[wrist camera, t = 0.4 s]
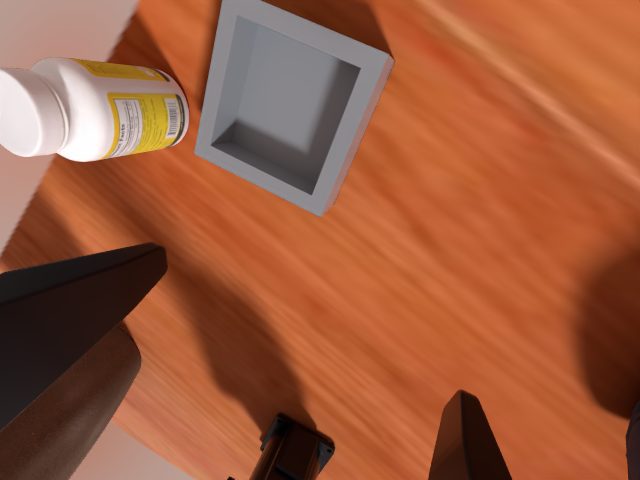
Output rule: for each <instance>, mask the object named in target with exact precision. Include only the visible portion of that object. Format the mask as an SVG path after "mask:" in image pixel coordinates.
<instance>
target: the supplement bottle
mask: <svg viewBox="0 0 640 480" xmlns="http://www.w3.org/2000/svg"><path fill="white" fill-rule="evenodd" d="M188 125H189V109H188V104H187V101H186V98H185V96H184V94H183V92H182V90H181V88H180V87H179V85H178V84H177V83H176V82H175V81H174V79H173V78H171V77H170V76H169V75H168V74H166V73H165V72H163V71H161V70H158V69H154V68H148V67H140V66H131V65H122V64H114V63H105V62H96V61H88V60H80V59H71V58H60V57H51V58H45V59H42V60H40V61H38V62H37V63H35V64H34V65H33V66H32V68H31V69H30V70H24V69H19V68H0V144H1V145H2V146H3V147H5V148H6V149H7V150H9V151H10V152H12V153H13V154H16V155H18V156H23V157H31V156H39V155H49V154H53V153H58V154H60V155H61V156H63V157H65V158H68V159H70V160H74V161H80V162H87V161H96V160H101V159H107V158H112V157H118V156H124V155H130V154H135V153H141V152H147V151H152V150H158V149H162V148H167V147H171V146H174V145H176V144H177V143H178V142H180V141H181V140H182V138H183V137H184V136H185V134H186V132H187V129H188Z"/></svg>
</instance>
